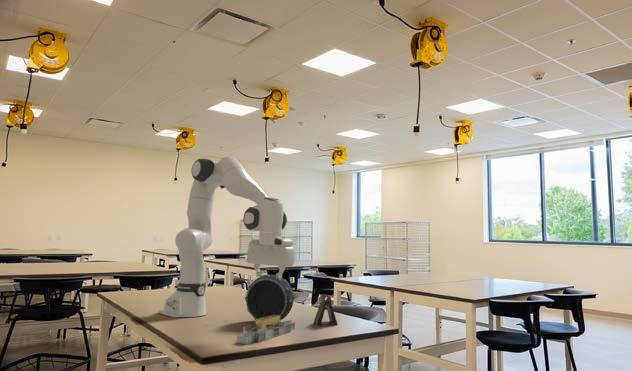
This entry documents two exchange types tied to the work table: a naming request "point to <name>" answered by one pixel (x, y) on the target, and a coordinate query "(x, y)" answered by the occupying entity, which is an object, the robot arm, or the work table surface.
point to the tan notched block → (268, 321)
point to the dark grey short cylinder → (269, 297)
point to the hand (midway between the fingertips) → (268, 277)
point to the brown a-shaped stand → (322, 308)
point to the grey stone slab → (264, 332)
